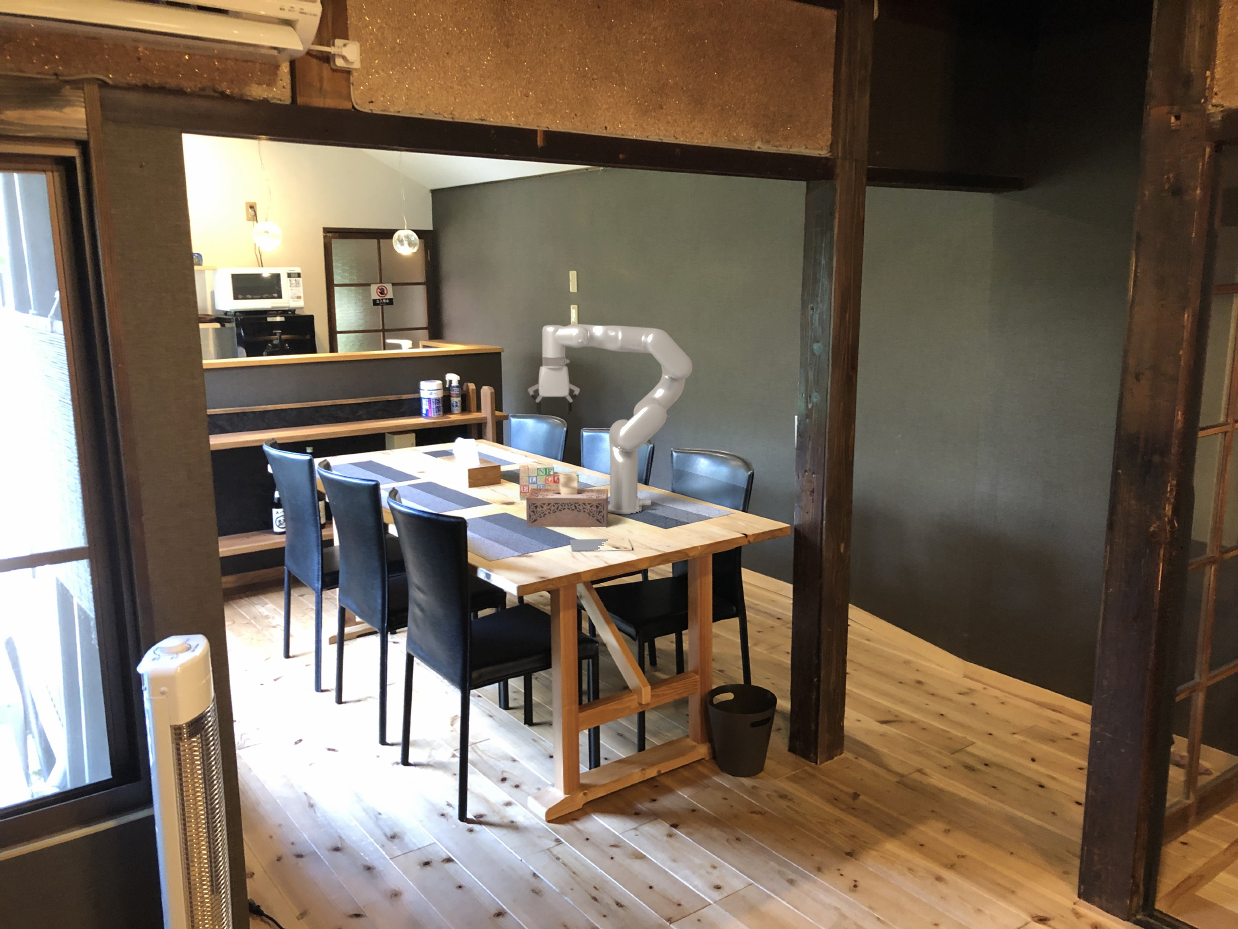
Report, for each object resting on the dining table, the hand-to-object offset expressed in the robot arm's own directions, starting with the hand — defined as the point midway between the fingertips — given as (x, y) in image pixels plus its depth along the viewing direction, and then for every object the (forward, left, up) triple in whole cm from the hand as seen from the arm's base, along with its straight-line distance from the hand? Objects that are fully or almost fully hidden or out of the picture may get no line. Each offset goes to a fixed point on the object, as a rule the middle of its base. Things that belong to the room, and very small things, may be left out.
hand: (554, 413), depth 315 cm
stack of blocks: (+1, -24, -35) cm, 42 cm away
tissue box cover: (-4, +12, -35) cm, 37 cm away
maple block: (-4, +12, -25) cm, 28 cm away
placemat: (-12, +42, -34) cm, 56 cm away
